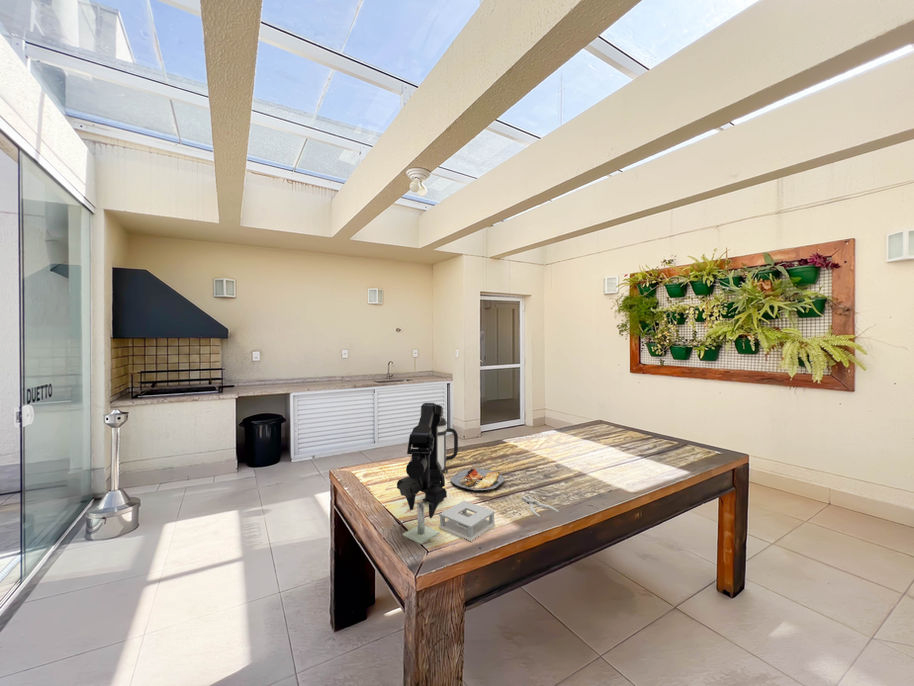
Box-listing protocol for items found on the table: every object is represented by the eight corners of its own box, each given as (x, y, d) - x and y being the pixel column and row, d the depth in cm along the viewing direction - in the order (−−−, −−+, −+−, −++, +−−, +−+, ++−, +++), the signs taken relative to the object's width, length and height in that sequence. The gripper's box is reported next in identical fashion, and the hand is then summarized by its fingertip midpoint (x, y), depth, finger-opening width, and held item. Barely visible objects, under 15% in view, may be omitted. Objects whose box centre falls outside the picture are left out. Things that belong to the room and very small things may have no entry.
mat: (402, 535, 124) (402, 533, 124) (421, 524, 131) (421, 523, 131) (421, 544, 118) (421, 543, 118) (439, 533, 125) (439, 532, 125)
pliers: (538, 513, 137) (515, 498, 150) (538, 518, 137) (515, 502, 150) (559, 508, 141) (534, 494, 154) (559, 512, 141) (534, 497, 154)
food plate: (469, 469, 188) (469, 462, 188) (511, 478, 176) (511, 471, 176) (442, 487, 166) (442, 479, 166) (488, 499, 154) (488, 491, 154)
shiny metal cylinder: (416, 533, 124) (415, 503, 124) (421, 530, 126) (420, 501, 126) (421, 535, 123) (420, 505, 123) (426, 532, 125) (425, 503, 125)
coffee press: (440, 478, 175) (440, 416, 175) (413, 472, 183) (413, 412, 183) (458, 468, 190) (458, 410, 190) (432, 463, 198) (432, 407, 198)
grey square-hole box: (439, 527, 129) (439, 513, 129) (464, 513, 139) (464, 500, 139) (471, 541, 120) (471, 526, 120) (494, 525, 131) (494, 511, 131)
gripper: (384, 468, 124) (384, 514, 124) (424, 481, 112) (424, 532, 112) (408, 460, 133) (408, 503, 133) (447, 471, 121) (447, 518, 121)
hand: (421, 513), depth 124 cm, fingers open, 9 cm apart
